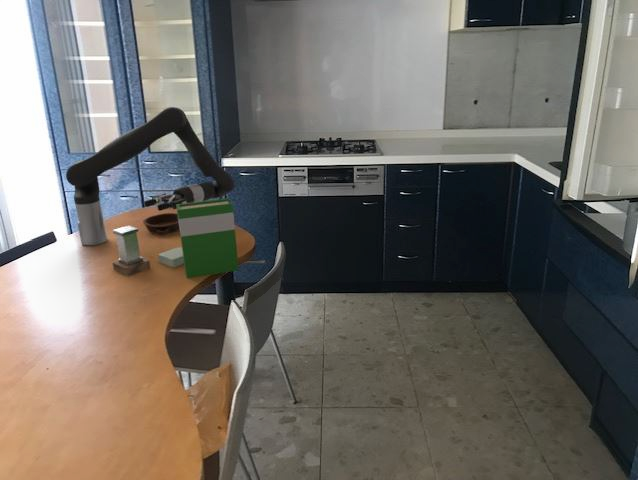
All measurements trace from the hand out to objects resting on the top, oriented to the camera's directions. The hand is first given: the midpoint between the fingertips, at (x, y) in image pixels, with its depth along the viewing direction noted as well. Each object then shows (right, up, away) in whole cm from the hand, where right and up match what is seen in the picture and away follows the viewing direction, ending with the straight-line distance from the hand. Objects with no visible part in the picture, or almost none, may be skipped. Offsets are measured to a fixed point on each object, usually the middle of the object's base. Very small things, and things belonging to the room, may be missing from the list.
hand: (151, 206), depth 181 cm
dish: (-7, -8, +40) cm, 42 cm away
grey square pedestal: (-7, -20, -2) cm, 21 cm away
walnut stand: (-7, -22, -1) cm, 23 cm away
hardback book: (+22, -23, -4) cm, 32 cm away
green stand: (+8, -20, +5) cm, 22 cm away
